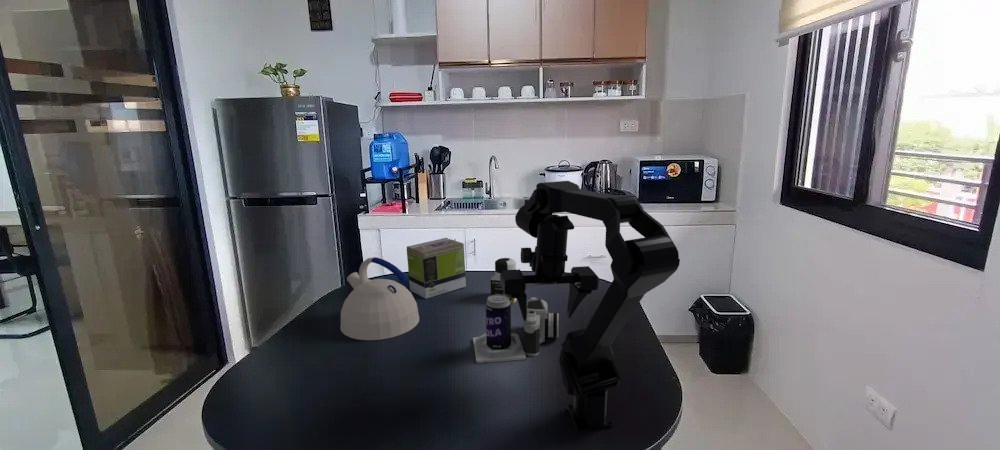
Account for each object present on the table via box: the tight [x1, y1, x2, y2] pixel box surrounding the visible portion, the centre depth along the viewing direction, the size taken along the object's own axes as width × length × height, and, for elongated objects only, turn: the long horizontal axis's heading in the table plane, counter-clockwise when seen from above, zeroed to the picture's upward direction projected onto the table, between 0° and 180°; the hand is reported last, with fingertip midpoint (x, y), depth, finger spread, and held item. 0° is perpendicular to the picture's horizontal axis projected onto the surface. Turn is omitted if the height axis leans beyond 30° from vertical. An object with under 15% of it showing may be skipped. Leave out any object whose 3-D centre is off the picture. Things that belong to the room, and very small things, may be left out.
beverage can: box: [485, 294, 512, 350], centre depth 105 cm, size 6×6×12 cm
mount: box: [472, 332, 527, 364], centre depth 106 cm, size 11×11×2 cm
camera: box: [522, 296, 560, 357], centre depth 109 cm, size 16×9×10 cm, turn 174°
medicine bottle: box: [490, 257, 518, 305], centre depth 135 cm, size 7×7×12 cm
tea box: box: [406, 237, 467, 300], centre depth 143 cm, size 15×10×15 cm
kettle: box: [340, 256, 420, 341], centre depth 119 cm, size 20×21×18 cm
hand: (546, 318), depth 93 cm, fingers open, 9 cm apart
